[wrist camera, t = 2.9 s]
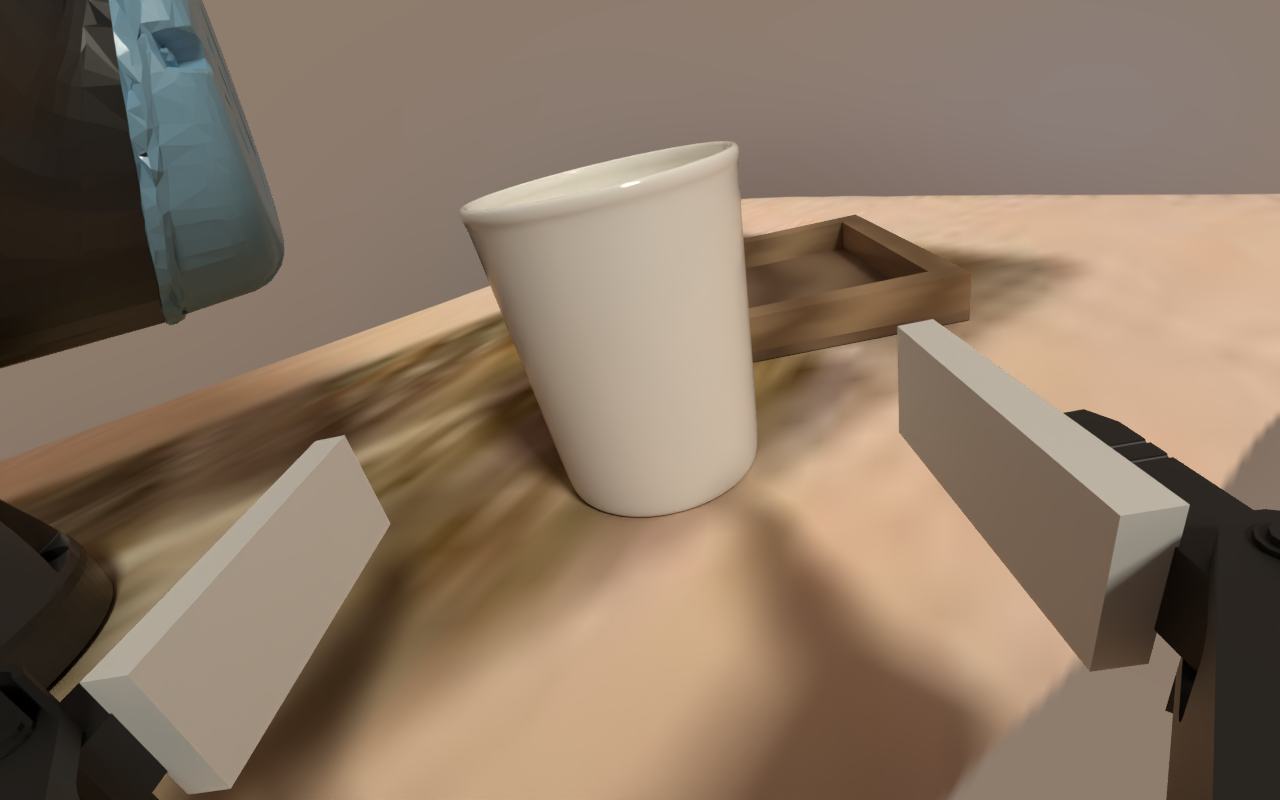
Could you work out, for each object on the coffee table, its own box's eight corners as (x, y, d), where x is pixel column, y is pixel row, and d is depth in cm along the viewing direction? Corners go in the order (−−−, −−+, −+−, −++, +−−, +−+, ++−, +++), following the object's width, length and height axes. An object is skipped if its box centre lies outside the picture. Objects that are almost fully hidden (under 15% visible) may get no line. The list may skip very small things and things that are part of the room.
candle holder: (664, 388, 32) (613, 156, 26) (824, 432, 25) (798, 127, 19) (514, 481, 26) (412, 215, 21) (661, 572, 19) (565, 205, 14)
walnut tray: (640, 383, 33) (630, 341, 32) (640, 292, 49) (633, 262, 48) (969, 319, 31) (971, 272, 30) (856, 247, 47) (855, 214, 46)
